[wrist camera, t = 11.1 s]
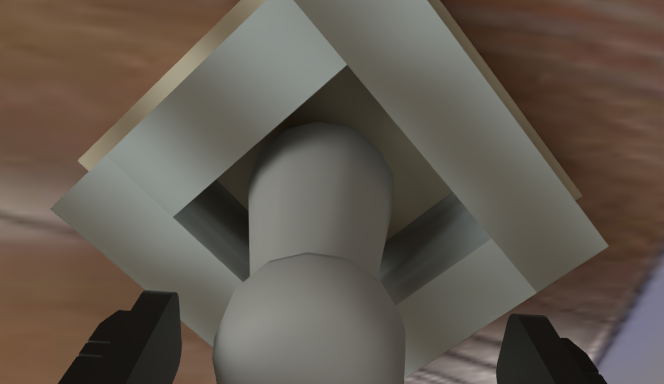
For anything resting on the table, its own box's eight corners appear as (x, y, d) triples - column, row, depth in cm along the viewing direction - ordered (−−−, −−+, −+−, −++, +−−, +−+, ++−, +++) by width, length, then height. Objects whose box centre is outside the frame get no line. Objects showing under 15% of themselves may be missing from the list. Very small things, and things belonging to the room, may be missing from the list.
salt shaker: (329, 80, 21) (324, 206, 9) (413, 178, 22) (510, 401, 10) (230, 168, 22) (105, 382, 10) (316, 254, 24) (299, 527, 12)
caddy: (355, -108, 19) (365, -151, 13) (570, 186, 24) (647, 249, 18) (89, 152, 23) (8, 206, 17) (318, 361, 28) (314, 459, 22)
